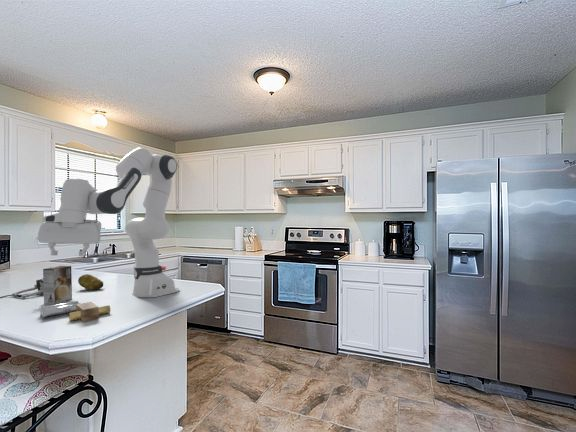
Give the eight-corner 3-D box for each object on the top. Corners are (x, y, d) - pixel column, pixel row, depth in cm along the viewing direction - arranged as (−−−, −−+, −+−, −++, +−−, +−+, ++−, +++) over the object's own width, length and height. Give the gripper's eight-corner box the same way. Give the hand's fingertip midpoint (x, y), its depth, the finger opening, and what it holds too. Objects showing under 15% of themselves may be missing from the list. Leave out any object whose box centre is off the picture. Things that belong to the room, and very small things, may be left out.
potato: (90, 292, 162) (90, 277, 162) (75, 289, 168) (75, 275, 168) (105, 288, 169) (105, 274, 169) (90, 286, 175) (90, 272, 175)
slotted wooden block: (91, 316, 122) (91, 301, 122) (98, 322, 115) (98, 306, 115) (76, 320, 119) (76, 304, 119) (83, 326, 112) (82, 309, 112)
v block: (76, 312, 128) (76, 300, 128) (81, 316, 123) (81, 303, 123) (40, 319, 120) (40, 306, 120) (43, 324, 115) (43, 310, 115)
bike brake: (46, 287, 169) (-1, 302, 152) (44, 275, 168) (-4, 289, 151) (59, 291, 162) (11, 307, 145) (56, 278, 161) (8, 293, 144)
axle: (108, 312, 124) (108, 304, 124) (110, 313, 121) (110, 306, 121) (68, 320, 114) (68, 312, 114) (70, 322, 112) (70, 313, 112)
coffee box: (61, 298, 150) (61, 265, 150) (72, 299, 149) (72, 265, 149) (43, 303, 141) (42, 268, 141) (54, 304, 140) (54, 269, 140)
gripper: (105, 221, 123) (101, 256, 121) (47, 219, 120) (42, 255, 118) (98, 219, 117) (94, 255, 115) (37, 217, 114) (32, 254, 112)
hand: (68, 255), depth 116 cm, fingers open, 8 cm apart
